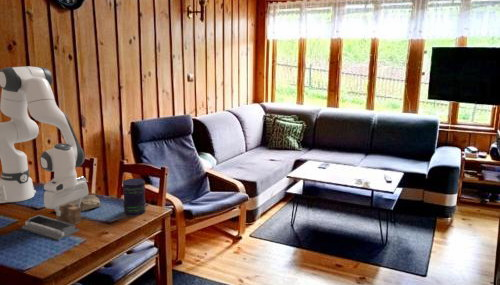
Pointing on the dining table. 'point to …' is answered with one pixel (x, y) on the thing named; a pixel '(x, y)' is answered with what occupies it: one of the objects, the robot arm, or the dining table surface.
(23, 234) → the dining table surface
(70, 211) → the wooden block
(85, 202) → the grey brown rock
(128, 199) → the storage jar
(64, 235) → the grey rectangular tray
